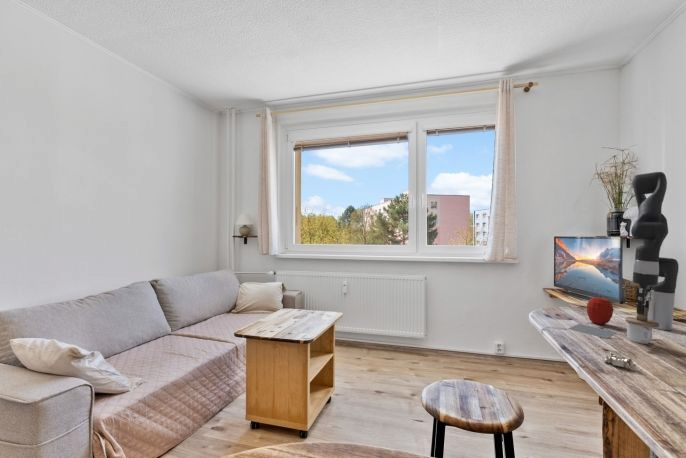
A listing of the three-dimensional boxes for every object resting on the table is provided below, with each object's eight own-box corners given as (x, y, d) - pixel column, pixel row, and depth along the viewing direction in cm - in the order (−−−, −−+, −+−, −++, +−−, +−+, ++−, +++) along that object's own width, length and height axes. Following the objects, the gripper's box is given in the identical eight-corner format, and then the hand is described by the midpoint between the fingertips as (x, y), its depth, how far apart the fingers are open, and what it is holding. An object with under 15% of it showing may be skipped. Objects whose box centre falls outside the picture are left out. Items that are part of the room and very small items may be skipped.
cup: (661, 349, 128) (663, 328, 128) (637, 346, 130) (639, 326, 129) (642, 340, 138) (644, 320, 138) (620, 337, 140) (622, 318, 140)
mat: (578, 324, 157) (579, 323, 157) (616, 333, 146) (616, 332, 146) (567, 329, 147) (567, 328, 147) (607, 339, 136) (607, 338, 136)
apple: (612, 329, 152) (615, 298, 152) (585, 324, 158) (587, 294, 158) (611, 324, 161) (613, 295, 160) (585, 319, 167) (587, 291, 166)
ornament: (639, 369, 108) (639, 357, 108) (632, 373, 104) (632, 361, 104) (608, 359, 115) (609, 349, 115) (601, 363, 111) (602, 352, 111)
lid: (628, 318, 141) (629, 303, 141) (660, 324, 133) (662, 309, 133) (622, 321, 135) (623, 306, 134) (656, 328, 127) (657, 312, 127)
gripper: (637, 269, 141) (634, 308, 141) (629, 271, 132) (626, 312, 132) (661, 272, 135) (658, 312, 135) (655, 274, 126) (651, 317, 126)
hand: (642, 312), depth 134 cm, fingers open, 8 cm apart
